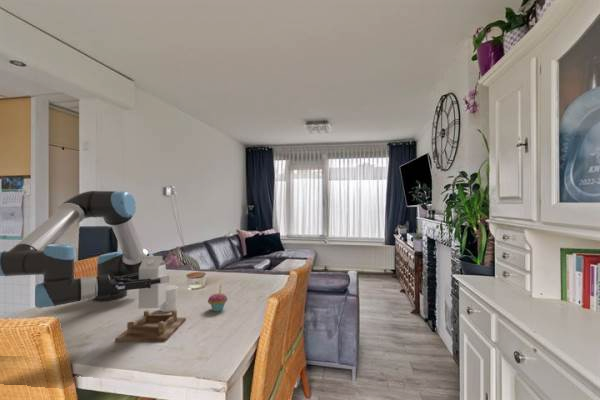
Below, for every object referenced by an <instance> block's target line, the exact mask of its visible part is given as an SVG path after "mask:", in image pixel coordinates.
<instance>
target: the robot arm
mask: <svg viewBox="0 0 600 400" xmlns="http://www.w3.org/2000/svg"><path fill="white" fill-rule="evenodd" d="M136 209H137V206H136V199H135V198H134V196H133V195H132V194H131V193H130V192H129V191H124V190H123V191H122V190H113V191H111V190H108V191H107V190H103V191H102V190H89V191H84V192H81V193H79V194H76V195H74V196H72V197H69V198H68V199H67V200H65V201H64V202H63V203H61V204H60V205H59V206H58V208H57V211H56V212H55V213H53V214H52V215H51V216H50V217H48V218H47V219H46V220H45V221H44V222H43V223H40V224H39V225H38V227H36V228H35V229H34V230H33V231H32V232H30V233H29V234H28V235H27V236H25V237H24V238H23V239H22V240H21V241H19V242H18V243H17V244H16V245H15V246H13V247H12V248H10V249H9V250H8V251H6V250H3V251H0V277H11V276H12V277H13V276H15V277H17V276H35V275H36V276H37V275H38V276H39V275H43V282H41V283H37V284H36V285H35V287H34V306H35V308H37V309H41V308H42V309H43V308H49V307H57V306H61V305H66V304H71V303H76V302H82V301H83V302H84V303H86V302H88V300H93V301H95V302H109V301H114V300H119V299H122V298H124V297H126V296H128V291H129V290H130V291H131V290H139V289H141V288H151V286H152V285H157V284H163V283H166V284H168V283H170V275H169V274H168V275H167V274H166V275H165V276H159V277H153V278H150V279H139V267H140V265H141V263H142V261H143V256H155V255H154V253H150V252H149V253H148V250H147V249H146V248H145V247H143V246H142V244H141V241H140V238H139V236H138V233H137V229H136V228H135V224H134V222H133V217H134V215H135V214H136V211H137V210H136ZM88 218H103V221H104V222H105V224H107V225H109V226H111V228H112V230H113V233H114V235H115V238H116V240H117V242H118V244H119V246H120V249H121V251H115V252H114V251H113V252H108V253H104V254H100V255H99V256H98V257H97V263H96V270H97V271H96V277H95V276H94V275H93V276H85V277H80V278H75V258H76V255H75V248H74V247H75V246H74V245H73V244H72V243H57V242H58V240H59V239H61V238H62V237H63V236H64V235H65V234H66V233H67V232H68V231H69V230H70V229H71V228H72V227H73V226H75V224H78V223H81V222H82V221H83V220H84V219H88Z"/></svg>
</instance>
